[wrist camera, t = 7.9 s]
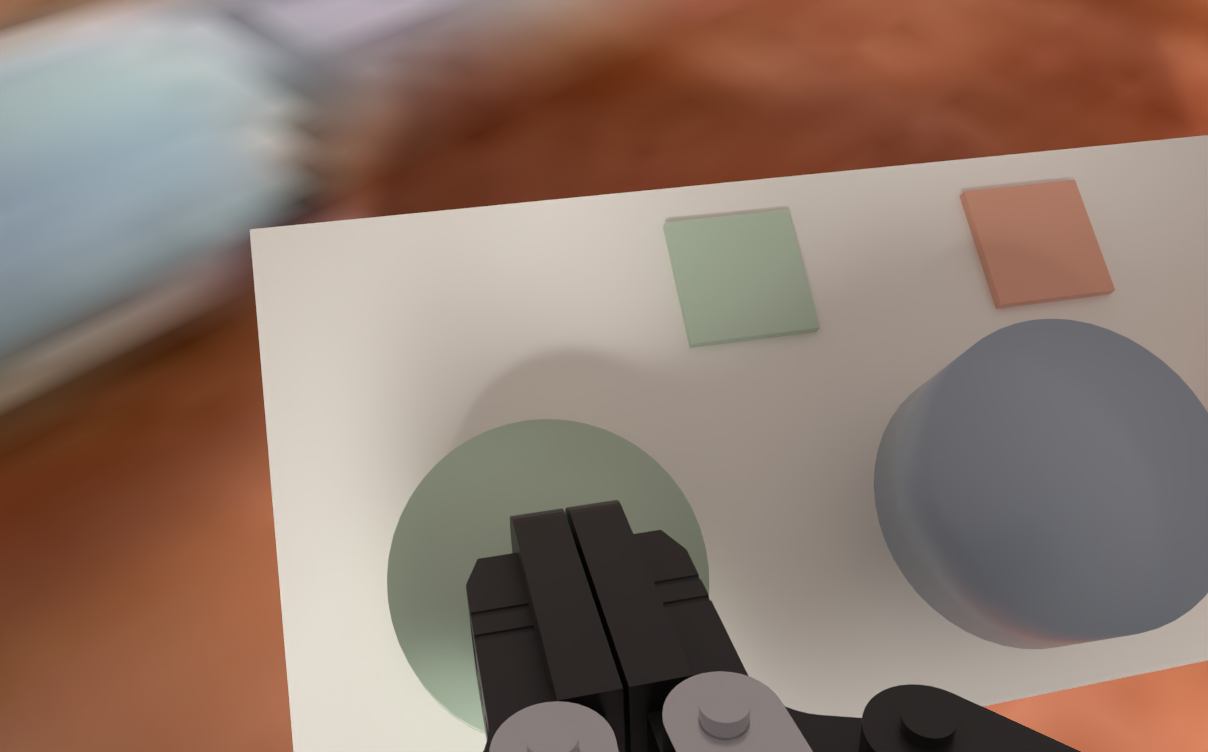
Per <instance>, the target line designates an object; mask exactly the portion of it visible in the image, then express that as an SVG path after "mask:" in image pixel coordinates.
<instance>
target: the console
mask: <svg viewBox="0 0 1208 752" xmlns="http://www.w3.org/2000/svg"><path fill="white" fill-rule="evenodd" d="M250 239H251V251H252V262H253V274H254V286H255V298H256V310H257V322H258V334H259V346H260V358H261V369H262V381H263V393H264V405H265V417H266V429H267V441H268V453H269V465H270V476H271V488H272V500H273V512H274V524H275V536H276V548H277V560H278V572H279V584H280V595H281V607H282V619H283V631H284V643H285V655H286V667H287V679H288V691H289V702H290V714H291V726H292V738H293V750H294V752H483V751H484V748H485V745H486V743H487V740H486V734H483V733H481V732H479V731H477V730H475V729H473V728H470V727H469V726H467V725H466V724H464V723H462V722H461V721H459V720H458V719H456V718H455V717H453V716H452V715H451V714H450V713H448V712H447V711H446V710H445V709H444V708H443V707H441V706H440V705H439V704H438V703H437V702H436V701H435V699H434V698H433V697H432V696H431V695H430V694H429V693H428V692H427V690H426V689H425V688H424V686H423V685H422V683H421V682H420V680H419V679H418V677H417V676H416V674H415V673H414V671H413V670H412V668H411V666H410V665H409V663H408V661H407V659H406V657H405V655H404V653H403V651H402V649H401V647H400V644H399V642H398V639H397V636H396V633H395V630H394V627H393V624H392V620H391V615H390V609H389V604H388V593H387V570H388V558H389V553H390V548H391V544H392V539H393V535H394V532H395V529H396V527H397V524H398V521H399V518H400V516H401V514H402V512H403V510H404V508H405V506H406V504H407V502H408V500H409V498H410V496H411V495H412V494H413V492H414V491H415V489H416V488H417V486H418V485H419V483H420V482H421V481H422V479H423V478H424V477H425V476H426V475H427V474H428V473H429V472H430V470H431V469H432V468H433V467H434V466H435V465H436V464H437V463H438V462H439V461H440V460H442V459H443V458H444V457H445V456H446V455H447V454H449V453H450V452H451V451H452V450H454V449H455V448H457V447H458V446H460V445H461V444H463V443H465V442H466V441H468V440H469V439H471V438H473V437H475V436H477V435H480V434H482V433H484V432H486V431H488V430H491V429H494V428H497V427H500V426H503V425H506V424H510V423H515V422H520V421H525V420H537V419H558V420H569V421H575V422H581V423H586V424H589V425H592V426H596V427H599V428H602V429H605V430H607V431H609V432H612V433H614V434H616V435H618V436H620V437H623V438H624V439H626V440H628V441H629V442H631V443H633V444H634V445H636V446H637V447H639V448H641V449H642V450H643V451H644V452H646V453H647V454H648V455H649V456H651V457H652V458H653V459H654V460H656V461H657V462H658V463H659V464H660V466H661V467H662V468H663V469H664V470H665V471H666V472H667V473H668V474H669V475H670V476H671V477H672V479H673V480H674V481H675V483H676V484H677V485H678V487H679V488H680V489H681V491H682V492H683V494H684V495H685V497H686V499H687V501H688V502H689V504H690V506H691V508H692V509H693V512H694V514H695V517H696V519H697V521H698V524H699V526H700V529H701V532H702V536H703V539H704V543H705V547H706V552H707V559H708V566H709V600H712V603H713V605H714V607H715V609H716V611H717V613H718V615H719V617H720V619H721V621H722V623H723V625H724V627H725V629H726V631H727V633H728V635H729V637H730V639H731V641H732V643H733V645H734V647H735V649H736V651H737V653H738V656H739V658H740V660H741V662H742V664H743V666H744V668H745V670H746V672H747V674H748V676H749V677H752V678H754V679H756V680H758V681H760V682H762V683H763V684H765V685H766V686H768V687H769V688H770V689H771V690H772V691H773V692H774V693H776V695H777V696H778V697H779V699H780V700H781V701H782V703H783V705H784V706H786V707H788V708H791V709H794V710H797V711H801V712H805V713H809V714H817V715H828V716H842V717H856V718H862V715H863V712H864V709H865V707H866V705H867V704H868V702H869V701H870V700H871V699H872V698H873V697H874V696H875V695H876V694H878V693H880V692H881V691H883V690H885V689H888V688H890V687H895V686H899V685H908V684H917V685H926V686H932V687H936V688H940V689H943V690H946V691H948V692H951V693H953V694H956V695H958V696H960V697H962V698H964V699H967V700H969V701H971V702H973V703H975V704H977V705H980V706H987V705H992V704H997V703H1002V702H1007V701H1012V700H1016V699H1021V698H1026V697H1031V696H1036V695H1041V694H1046V693H1051V692H1056V691H1060V690H1065V689H1070V688H1075V687H1080V686H1085V685H1090V684H1095V683H1100V682H1104V681H1109V680H1114V679H1119V678H1124V677H1129V676H1134V675H1139V674H1144V673H1148V672H1153V671H1158V670H1163V669H1168V668H1173V667H1178V666H1183V665H1187V664H1192V663H1197V662H1202V661H1207V660H1208V593H1207V595H1206V596H1205V597H1204V598H1203V599H1202V600H1201V601H1200V602H1199V603H1198V604H1197V605H1196V606H1195V607H1194V608H1193V609H1191V610H1190V611H1189V612H1187V613H1186V614H1184V615H1183V616H1181V617H1180V618H1178V619H1177V620H1175V621H1173V622H1171V623H1169V624H1167V625H1164V626H1162V627H1160V628H1158V629H1154V630H1151V631H1147V632H1144V633H1140V634H1135V635H1129V636H1123V637H1117V638H1110V639H1104V640H1098V641H1092V642H1086V643H1080V644H1074V645H1068V646H1062V647H1055V648H1047V649H1020V648H1014V647H1008V646H1003V645H999V644H996V643H993V642H990V641H986V640H983V639H981V638H979V637H977V636H975V635H972V634H970V633H968V632H966V631H964V630H963V629H961V628H959V627H958V626H956V625H954V624H953V623H951V622H949V621H948V620H947V619H945V618H944V617H943V616H942V615H940V614H939V613H938V612H937V611H935V610H934V609H933V608H932V607H931V606H930V605H929V604H928V603H927V602H926V601H925V600H924V599H923V598H922V597H921V596H920V595H919V594H918V593H917V592H916V591H915V590H914V588H913V587H912V586H911V585H910V583H909V582H908V581H907V579H906V578H905V577H904V575H903V574H902V572H901V570H900V569H899V567H898V566H897V564H896V562H895V561H894V559H893V557H892V555H891V553H890V550H889V548H888V546H887V544H886V542H885V539H884V536H883V533H882V530H881V527H880V524H879V520H878V515H877V510H876V505H875V495H874V471H875V463H876V457H877V452H878V448H879V445H880V442H881V439H882V436H883V433H884V431H885V429H886V427H887V425H888V423H889V421H890V419H891V417H892V416H893V415H894V413H895V412H896V410H897V409H898V408H899V406H900V405H901V404H902V403H903V402H904V401H905V400H906V399H907V398H908V396H909V395H910V394H911V393H912V392H914V391H915V390H916V389H918V388H919V387H920V386H921V385H923V384H924V383H925V382H926V381H928V380H929V379H930V378H932V377H933V376H934V375H935V374H937V373H938V372H939V371H941V370H942V369H943V368H944V367H946V366H947V365H948V364H950V363H951V362H952V361H953V360H955V359H956V358H957V357H959V356H960V355H961V354H962V353H964V352H965V351H966V350H968V349H969V348H970V347H971V346H973V345H974V344H975V343H977V342H978V341H979V340H981V339H982V338H984V337H985V336H987V335H989V334H991V333H993V332H995V331H997V330H998V329H1001V328H1004V327H1007V326H1010V325H1012V324H1015V323H1020V322H1025V321H1030V320H1037V319H1066V320H1074V321H1080V322H1085V323H1090V324H1093V325H1096V326H1099V327H1103V328H1106V329H1109V330H1111V331H1113V332H1116V333H1118V334H1120V335H1122V336H1125V337H1127V338H1129V339H1130V340H1132V341H1134V342H1136V343H1137V344H1139V345H1141V346H1142V347H1144V348H1146V349H1147V350H1149V351H1150V352H1151V353H1153V354H1154V355H1155V356H1157V357H1158V358H1159V359H1161V360H1162V361H1163V362H1164V363H1166V364H1167V365H1168V366H1169V367H1170V368H1171V369H1172V370H1173V371H1174V372H1175V373H1177V374H1178V375H1179V376H1180V378H1181V379H1182V380H1183V381H1184V382H1185V383H1186V384H1187V385H1188V386H1189V388H1190V389H1191V390H1192V391H1193V392H1194V394H1195V395H1196V396H1197V398H1198V399H1199V401H1200V402H1201V403H1202V405H1203V406H1204V407H1205V409H1206V411H1207V412H1208V135H1204V136H1194V137H1183V138H1173V139H1163V140H1153V141H1143V142H1133V143H1123V144H1112V145H1102V146H1092V147H1082V148H1072V149H1062V150H1052V151H1041V152H1031V153H1021V154H1011V155H1001V156H991V157H980V158H970V159H960V160H950V161H940V162H930V163H920V164H909V165H899V166H889V167H879V168H869V169H859V170H848V171H838V172H828V173H818V174H808V175H798V176H788V177H777V178H767V179H757V180H747V181H737V182H727V183H717V184H706V185H696V186H686V187H676V188H666V189H656V190H645V191H635V192H625V193H615V194H605V195H595V196H585V197H574V198H564V199H554V200H544V201H534V202H524V203H513V204H503V205H493V206H483V207H473V208H463V209H453V210H442V211H432V212H422V213H412V214H402V215H392V216H382V217H371V218H361V219H351V220H341V221H331V222H321V223H310V224H300V225H290V226H280V227H270V228H260V229H250Z"/></svg>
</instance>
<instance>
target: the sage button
mask: <svg viewBox="0 0 1208 752" xmlns="http://www.w3.org/2000/svg"><path fill="white" fill-rule="evenodd" d="M612 500H618V501H619V502H620V504H621V506H622V508H623V510H624V513H625V515H626V517H627V520H628V522H629V525H630V527H631V529H632V532H633V534H637V533H643V532H649V531H656V530H662V531H663V532H665V533H666V534H667V535H669V536H670V537H671V538H672V539H674V540H675V541H676V542H678V543H679V544H680V545H681V546H683V547H684V548H685V549H687V552H688V554H689V556H690V558H691V560H692V562H693V564H694V566H695V568H696V570H697V572H698V574H699V579H701V580H702V582H703V584H704V586H705V588H706V590H707V592H708V594H709V566H708V559H707V552H706V547H705V543H704V539H703V536H702V532H701V529H700V526H699V524H698V521H697V519H696V517H695V514H694V512H693V509H692V508H691V506H690V504H689V502H688V501H687V499H686V497H685V495H684V494H683V492H682V491H681V489H680V488H679V487H678V485H677V484H676V483H675V481H674V480H673V479H672V477H671V476H670V475H669V474H668V473H667V472H666V471H665V470H664V469H663V468H662V467H661V466H660V464H659V463H658V462H657V461H656V460H654V459H653V458H652V457H651V456H649V455H648V454H647V453H646V452H644V451H643V450H642V449H641V448H639V447H637V446H636V445H634V444H633V443H631V442H629V441H628V440H626V439H624V438H623V437H620V436H618V435H616V434H614V433H612V432H609V431H607V430H605V429H602V428H599V427H596V426H592V425H589V424H586V423H581V422H575V421H569V420H558V419H537V420H525V421H520V422H515V423H510V424H506V425H503V426H500V427H497V428H494V429H491V430H488V431H486V432H484V433H482V434H480V435H477V436H475V437H473V438H471V439H469V440H468V441H466V442H465V443H463V444H461V445H460V446H458V447H457V448H455V449H454V450H452V451H451V452H450V453H449V454H447V455H446V456H445V457H444V458H443V459H442V460H440V461H439V462H438V463H437V464H436V465H435V466H434V467H433V468H432V469H431V470H430V472H429V473H428V474H427V475H426V476H425V477H424V478H423V479H422V481H421V482H420V483H419V485H418V486H417V488H416V489H415V491H414V492H413V494H412V495H411V496H410V498H409V500H408V502H407V504H406V506H405V508H404V510H403V512H402V514H401V516H400V518H399V521H398V524H397V527H396V529H395V532H394V535H393V539H392V544H391V548H390V553H389V558H388V570H387V593H388V604H389V609H390V615H391V620H392V624H393V627H394V630H395V633H396V636H397V639H398V642H399V644H400V647H401V649H402V651H403V653H404V655H405V657H406V659H407V661H408V663H409V665H410V666H411V668H412V670H413V671H414V673H415V674H416V676H417V677H418V679H419V680H420V682H421V683H422V685H423V686H424V688H425V689H426V690H427V692H428V693H429V694H430V695H431V696H432V697H433V698H434V699H435V701H436V702H437V703H438V704H439V705H440V706H441V707H443V708H444V709H445V710H446V711H447V712H448V713H450V714H451V715H452V716H453V717H455V718H456V719H458V720H459V721H461V722H462V723H464V724H466V725H467V726H469V727H470V728H473V729H475V730H477V731H479V732H481V733H483V734H485V726H484V721H483V715H482V708H481V701H480V695H479V689H478V683H477V676H476V669H475V661H474V652H473V643H472V635H471V626H470V618H469V609H468V600H467V592H466V584H467V581H468V579H469V577H470V575H471V572H472V570H473V568H474V566H475V563H476V561H477V559H480V558H486V557H492V556H499V555H505V554H511V553H512V543H511V532H510V516H515V515H521V514H528V513H535V512H541V511H548V510H554V509H561V508H562V509H563V510H564V512H565V509H566V507H573V506H579V505H586V504H593V503H599V502H606V501H612Z"/></svg>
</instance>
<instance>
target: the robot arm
mask: <svg viewBox="0 0 1208 752" xmlns="http://www.w3.org/2000/svg"><path fill="white" fill-rule="evenodd" d="M510 532H511V543H512V553H511V554H505V555H499V556H492V557H486V558H480V559H477V561H476V563H475V566H474V568H473V570H472V572H471V575H470V577H469V579H468V581H467V584H466V592H467V600H468V609H469V618H470V626H471V635H472V643H473V652H474V661H475V669H476V676H477V683H478V689H479V695H480V701H481V708H482V715H483V721H484V726H485V734H486V740H487V743H486V745H485V748H484V751H483V752H1080V751H1078V750H1076V749H1074V748H1071V747H1069V746H1067V745H1065V744H1063V743H1060V742H1058V741H1056V740H1054V739H1052V738H1050V737H1047V736H1045V735H1043V734H1041V733H1039V732H1036V731H1034V730H1032V729H1030V728H1028V727H1026V726H1023V725H1021V724H1019V723H1017V722H1015V721H1012V720H1010V719H1008V718H1006V717H1004V716H1001V715H999V714H997V713H995V712H993V711H991V710H988V709H986V708H984V707H982V706H980V705H977V704H975V703H973V702H971V701H969V700H967V699H964V698H962V697H960V696H958V695H956V694H953V693H951V692H948V691H946V690H943V689H940V688H936V687H932V686H926V685H917V684H908V685H899V686H895V687H890V688H888V689H885V690H883V691H881V692H880V693H878V694H876V695H875V696H874V697H873V698H872V699H871V700H870V701H869V702H868V704H867V705H866V707H865V709H864V712H863V715H862V718H856V717H842V716H828V715H817V714H809V713H805V712H801V711H797V710H794V709H791V708H788V707H786V706H784V705H783V703H782V701H781V700H780V699H779V697H778V696H777V695H776V693H774V692H773V691H772V690H771V689H770V688H769V687H768V686H766V685H765V684H763V683H762V682H760V681H758V680H756V679H754V678H752V677H749V676H748V674H747V672H746V670H745V668H744V666H743V664H742V662H741V660H740V658H739V656H738V653H737V651H736V649H735V647H734V645H733V643H732V641H731V639H730V637H729V635H728V633H727V631H726V629H725V627H724V625H723V623H722V621H721V619H720V617H719V615H718V613H717V611H716V609H715V607H714V605H713V603H712V600H709V594H708V592H707V590H706V588H705V586H704V584H703V582H702V580H701V579H699V574H698V572H697V570H696V568H695V566H694V564H693V562H692V560H691V558H690V556H689V554H688V552H687V549H685V548H684V547H683V546H681V545H680V544H679V543H678V542H676V541H675V540H674V539H672V538H671V537H670V536H669V535H667V534H666V533H665V532H663V531H662V530H656V531H649V532H643V533H637V534H633V532H632V529H631V527H630V525H629V522H628V520H627V517H626V515H625V513H624V510H623V508H622V506H621V504H620V502H619V501H618V500H612V501H606V502H599V503H593V504H586V505H579V506H573V507H566V509H565V512H564V510H563V509H562V508H561V509H554V510H548V511H541V512H535V513H528V514H521V515H515V516H510Z"/></svg>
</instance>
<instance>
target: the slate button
mask: <svg viewBox="0 0 1208 752" xmlns="http://www.w3.org/2000/svg"><path fill="white" fill-rule="evenodd" d="M874 495H875V505H876V510H877V515H878V520H879V524H880V527H881V530H882V533H883V536H884V539H885V542H886V544H887V546H888V548H889V550H890V553H891V555H892V557H893V559H894V561H895V562H896V564H897V566H898V567H899V569H900V570H901V572H902V574H903V575H904V577H905V578H906V579H907V581H908V582H909V583H910V585H911V586H912V587H913V588H914V590H915V591H916V592H917V593H918V594H919V595H920V596H921V597H922V598H923V599H924V600H925V601H926V602H927V603H928V604H929V605H930V606H931V607H932V608H933V609H934V610H935V611H937V612H938V613H939V614H940V615H942V616H943V617H944V618H945V619H947V620H948V621H949V622H951V623H953V624H954V625H956V626H958V627H959V628H961V629H963V630H964V631H966V632H968V633H970V634H972V635H975V636H977V637H979V638H981V639H983V640H986V641H990V642H993V643H996V644H999V645H1003V646H1008V647H1014V648H1020V649H1047V648H1055V647H1062V646H1068V645H1074V644H1080V643H1086V642H1092V641H1098V640H1104V639H1110V638H1117V637H1123V636H1129V635H1135V634H1140V633H1144V632H1147V631H1151V630H1154V629H1158V628H1160V627H1162V626H1164V625H1167V624H1169V623H1171V622H1173V621H1175V620H1177V619H1178V618H1180V617H1181V616H1183V615H1184V614H1186V613H1187V612H1189V611H1190V610H1191V609H1193V608H1194V607H1195V606H1196V605H1197V604H1198V603H1199V602H1200V601H1201V600H1202V599H1203V598H1204V597H1205V596H1206V595H1207V593H1208V412H1207V411H1206V409H1205V407H1204V406H1203V405H1202V403H1201V402H1200V401H1199V399H1198V398H1197V396H1196V395H1195V394H1194V392H1193V391H1192V390H1191V389H1190V388H1189V386H1188V385H1187V384H1186V383H1185V382H1184V381H1183V380H1182V379H1181V378H1180V376H1179V375H1178V374H1177V373H1175V372H1174V371H1173V370H1172V369H1171V368H1170V367H1169V366H1168V365H1167V364H1166V363H1164V362H1163V361H1162V360H1161V359H1159V358H1158V357H1157V356H1155V355H1154V354H1153V353H1151V352H1150V351H1149V350H1147V349H1146V348H1144V347H1142V346H1141V345H1139V344H1137V343H1136V342H1134V341H1132V340H1130V339H1129V338H1127V337H1125V336H1122V335H1120V334H1118V333H1116V332H1113V331H1111V330H1109V329H1106V328H1103V327H1099V326H1096V325H1093V324H1090V323H1085V322H1080V321H1074V320H1066V319H1037V320H1030V321H1025V322H1020V323H1015V324H1012V325H1010V326H1007V327H1004V328H1001V329H998V330H997V331H995V332H993V333H991V334H989V335H987V336H985V337H984V338H982V339H981V340H979V341H978V342H977V343H975V344H974V345H973V346H971V347H970V348H969V349H968V350H966V351H965V352H964V353H962V354H961V355H960V356H959V357H957V358H956V359H955V360H953V361H952V362H951V363H950V364H948V365H947V366H946V367H944V368H943V369H942V370H941V371H939V372H938V373H937V374H935V375H934V376H933V377H932V378H930V379H929V380H928V381H926V382H925V383H924V384H923V385H921V386H920V387H919V388H918V389H916V390H915V391H914V392H912V393H911V394H910V395H909V396H908V398H907V399H906V400H905V401H904V402H903V403H902V404H901V405H900V406H899V408H898V409H897V410H896V412H895V413H894V415H893V416H892V417H891V419H890V421H889V423H888V425H887V427H886V429H885V431H884V433H883V436H882V439H881V442H880V445H879V448H878V452H877V457H876V463H875V471H874Z"/></svg>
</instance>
